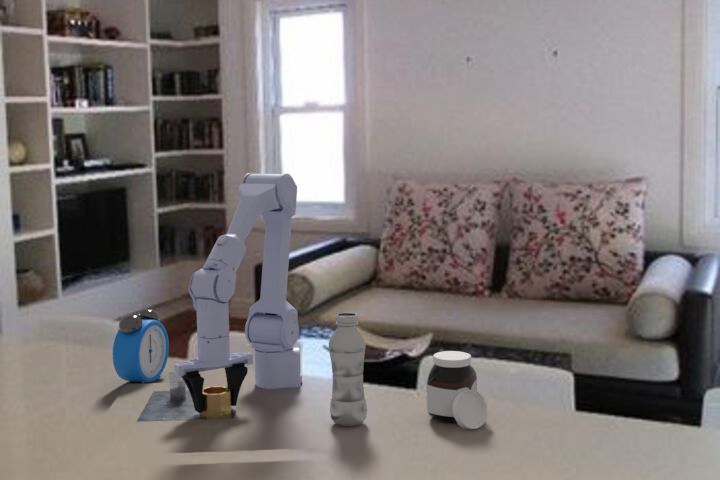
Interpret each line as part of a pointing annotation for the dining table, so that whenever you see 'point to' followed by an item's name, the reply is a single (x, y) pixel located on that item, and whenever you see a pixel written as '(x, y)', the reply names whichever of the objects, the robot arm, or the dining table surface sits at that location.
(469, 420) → the spread jar
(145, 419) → the plate
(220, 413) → the wooden octagonal tube
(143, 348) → the alarm clock
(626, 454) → the dining table surface
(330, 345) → the plastic bottle
